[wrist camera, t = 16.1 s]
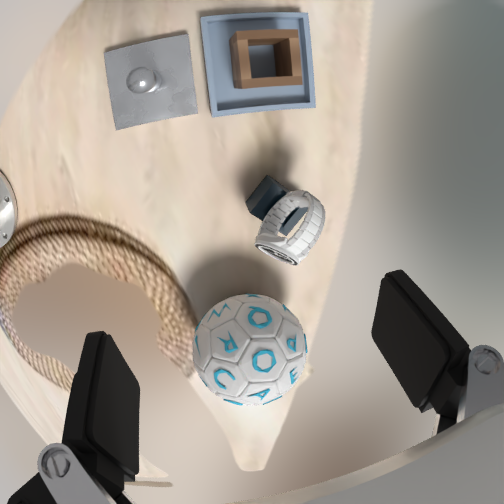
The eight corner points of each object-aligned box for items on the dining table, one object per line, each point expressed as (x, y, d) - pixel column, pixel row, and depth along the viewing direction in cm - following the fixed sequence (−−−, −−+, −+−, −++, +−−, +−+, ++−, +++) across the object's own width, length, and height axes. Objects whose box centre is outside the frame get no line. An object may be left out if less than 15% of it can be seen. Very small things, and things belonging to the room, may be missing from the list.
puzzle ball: (308, 304, 48) (344, 378, 35) (243, 358, 52) (259, 433, 39) (237, 252, 41) (260, 334, 28) (170, 321, 45) (169, 405, 32)
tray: (211, 115, 32) (212, 117, 30) (200, 20, 26) (200, 17, 24) (309, 106, 33) (315, 107, 31) (301, 16, 27) (307, 12, 25)
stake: (118, 128, 30) (99, 141, 24) (106, 53, 25) (84, 47, 19) (197, 112, 31) (199, 119, 25) (188, 35, 26) (187, 22, 20)
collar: (228, 40, 27) (236, 31, 22) (280, 37, 28) (297, 29, 23) (234, 88, 30) (242, 89, 25) (284, 84, 31) (302, 85, 25)
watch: (235, 215, 38) (251, 263, 29) (276, 162, 36) (307, 195, 26) (270, 236, 41) (295, 287, 31) (310, 188, 38) (348, 227, 29)
